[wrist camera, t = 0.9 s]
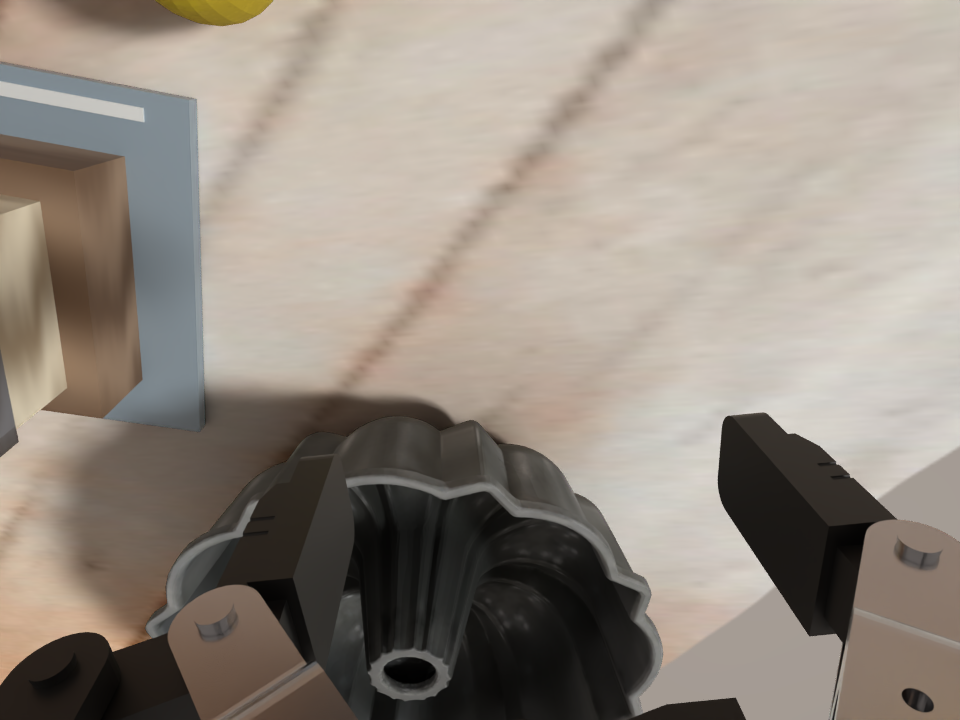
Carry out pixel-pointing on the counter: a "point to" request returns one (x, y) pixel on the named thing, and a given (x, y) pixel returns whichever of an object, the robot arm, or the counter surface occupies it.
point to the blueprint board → (136, 218)
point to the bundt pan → (461, 582)
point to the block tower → (64, 284)
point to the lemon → (216, 10)
